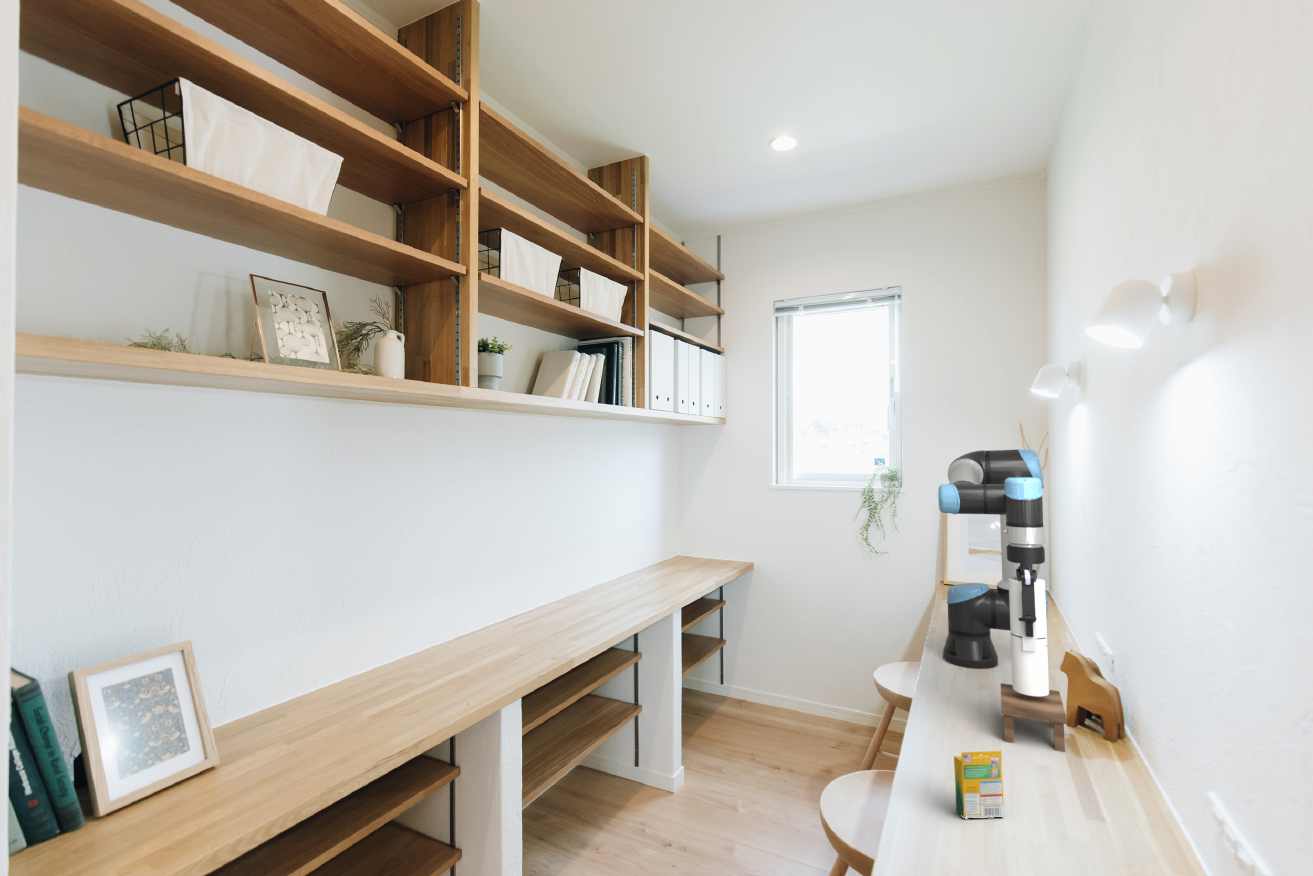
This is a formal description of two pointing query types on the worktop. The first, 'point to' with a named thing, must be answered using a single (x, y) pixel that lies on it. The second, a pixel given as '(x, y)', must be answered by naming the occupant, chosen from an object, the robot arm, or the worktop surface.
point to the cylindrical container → (1025, 664)
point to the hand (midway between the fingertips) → (1029, 645)
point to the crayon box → (979, 784)
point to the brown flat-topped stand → (1033, 712)
